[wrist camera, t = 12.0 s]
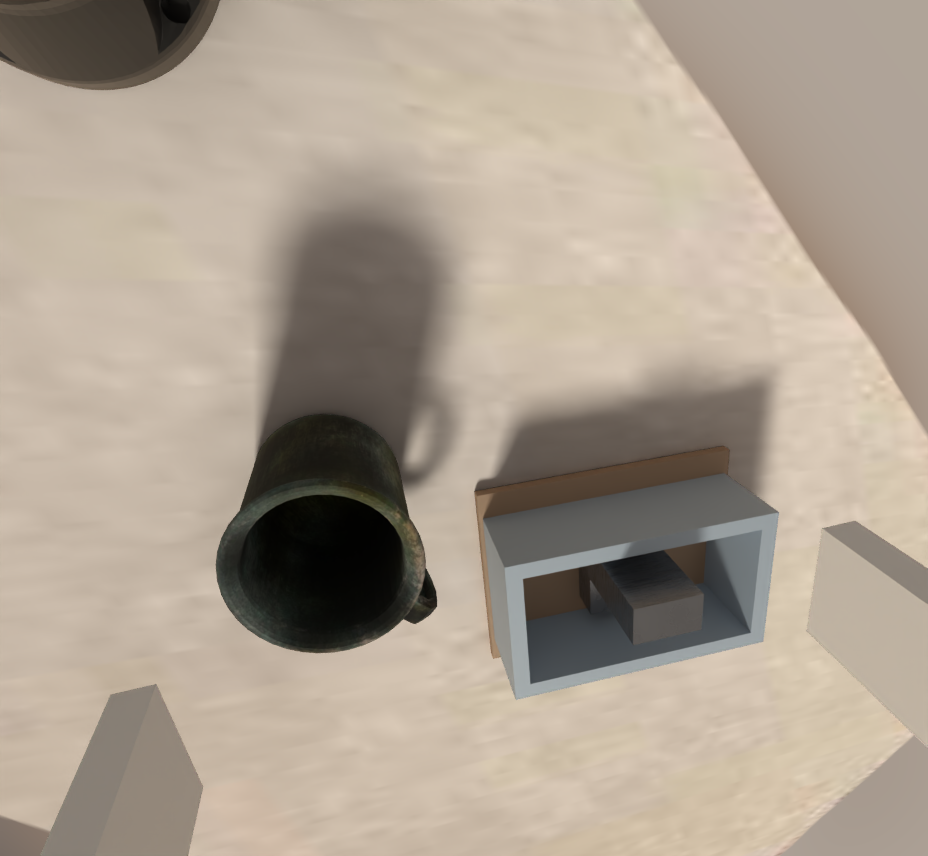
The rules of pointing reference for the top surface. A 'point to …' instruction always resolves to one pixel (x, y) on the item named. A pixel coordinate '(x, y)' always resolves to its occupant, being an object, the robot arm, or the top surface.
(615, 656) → the box
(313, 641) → the mug
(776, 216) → the top surface
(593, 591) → the brushed grey block
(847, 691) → the top surface
